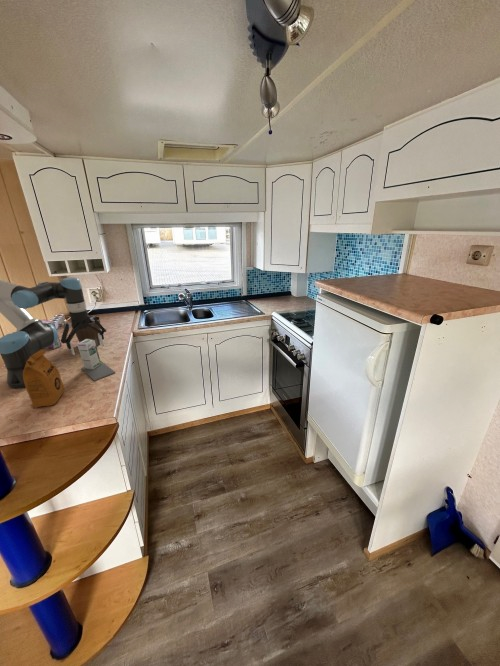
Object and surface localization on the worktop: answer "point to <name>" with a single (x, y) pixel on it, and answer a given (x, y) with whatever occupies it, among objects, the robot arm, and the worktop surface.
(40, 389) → the coffee package
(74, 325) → the robot arm
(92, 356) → the syrup box
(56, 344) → the candy bar box
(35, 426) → the worktop surface
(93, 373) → the rubber mat
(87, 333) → the plant pot
